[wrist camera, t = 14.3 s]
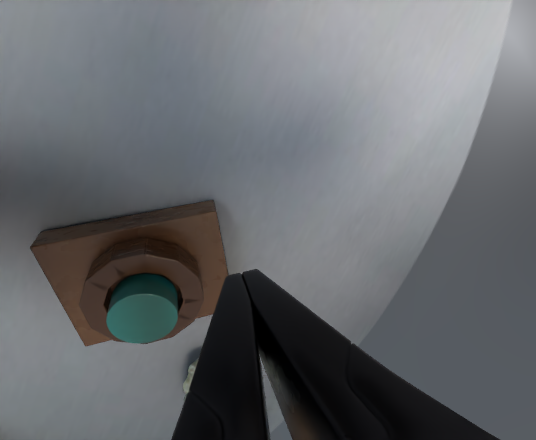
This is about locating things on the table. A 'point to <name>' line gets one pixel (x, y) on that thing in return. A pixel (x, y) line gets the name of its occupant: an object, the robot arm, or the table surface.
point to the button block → (135, 263)
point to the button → (143, 308)
